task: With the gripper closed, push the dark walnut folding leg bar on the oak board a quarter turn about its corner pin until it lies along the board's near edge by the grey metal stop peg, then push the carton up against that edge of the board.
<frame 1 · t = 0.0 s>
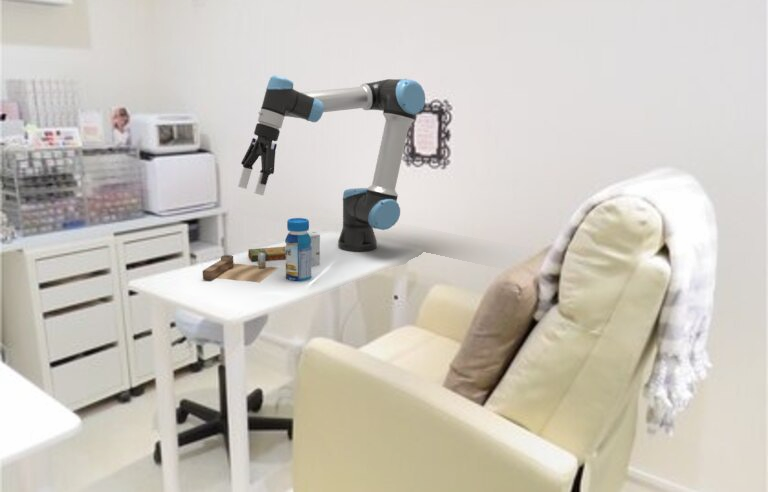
hand: (250, 191, 186), 28 cm above the table, tool tilted 20°, fingers open, 13 cm apart
carton: (272, 262, 210), on the table
beverage bottle: (298, 281, 189), on the table
leg bar: (218, 266, 190), point 4 cm above the table, hinge at 0.0°
stop peg: (262, 267, 197), resting on frame board
skincare box: (309, 268, 202), on the table
frame board: (243, 275, 192), on the table
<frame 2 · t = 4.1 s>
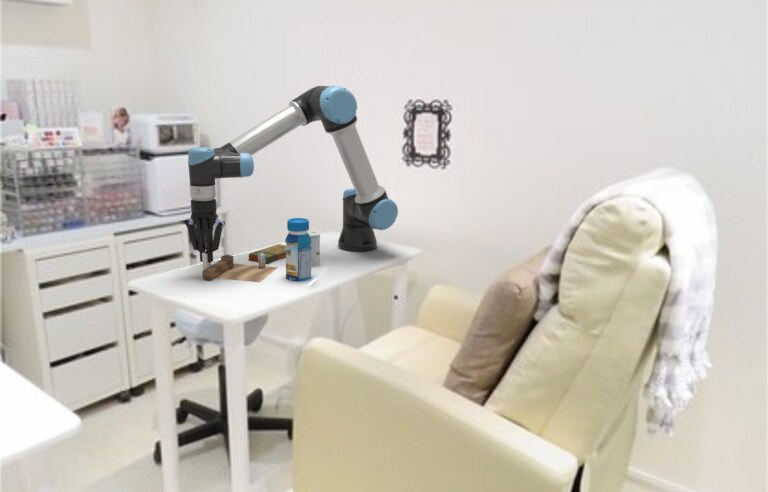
hand: (207, 271, 187), 3 cm above the table, tool pointing down, fingers closed
leg bar: (218, 266, 190), point 4 cm above the table, hinge at 0.0°, touching gripper
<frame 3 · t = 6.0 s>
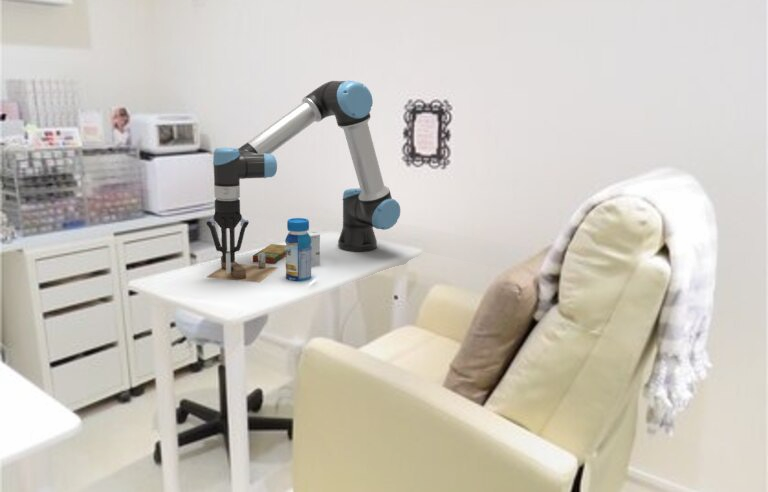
hand: (229, 272, 187), 3 cm above the table, tool pointing down, fingers closed
leg bar: (233, 265, 191), point 4 cm above the table, hinge at 44.0°, touching gripper
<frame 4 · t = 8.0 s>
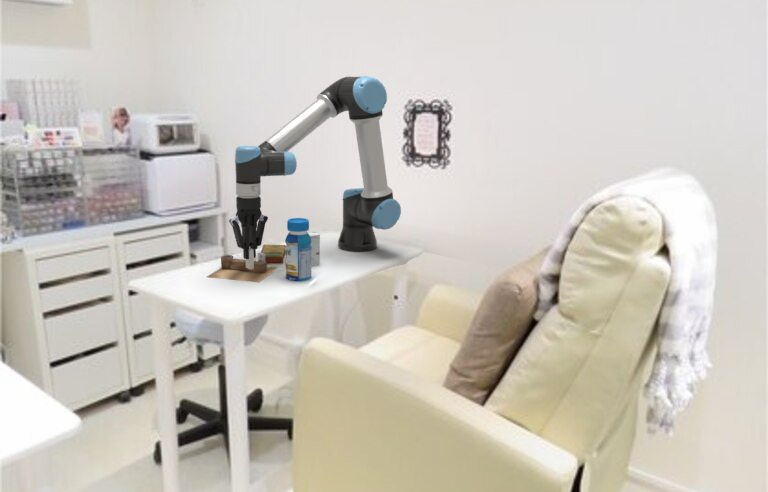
hand: (249, 268, 190), 3 cm above the table, tool pointing down, fingers closed
leg bar: (243, 263, 194), point 4 cm above the table, hinge at 83.1°, touching gripper
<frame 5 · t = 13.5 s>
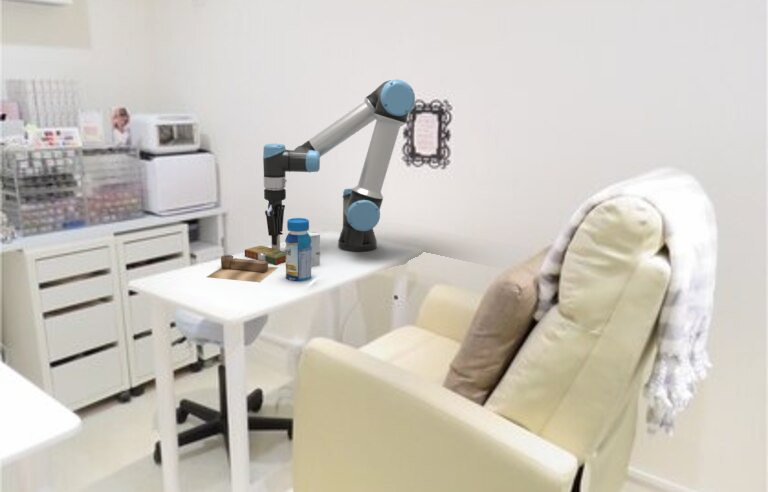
hand: (275, 252, 213), 2 cm above the table, tool pointing down, fingers closed
carton: (268, 263, 209), on the table
leg bar: (243, 262, 194), point 4 cm above the table, hinge at 87.5°
everything else where it was.
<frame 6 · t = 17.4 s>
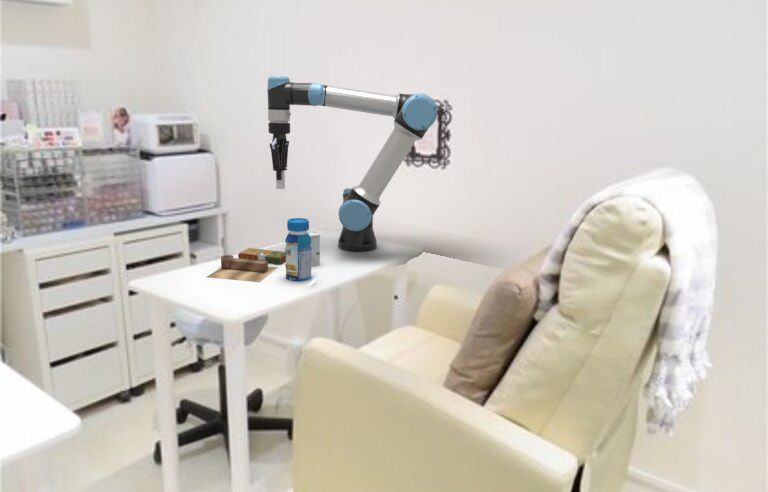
hand: (280, 188, 212), 24 cm above the table, tool pointing down, fingers closed
carton: (264, 264, 207), on the table
everything else where it was.
at the end: leg bar at +88° (first picture: +0°); carton inside the target area (3.6 cm from its centre), on the table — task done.
